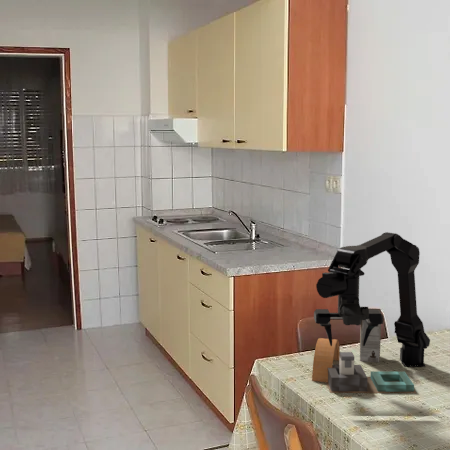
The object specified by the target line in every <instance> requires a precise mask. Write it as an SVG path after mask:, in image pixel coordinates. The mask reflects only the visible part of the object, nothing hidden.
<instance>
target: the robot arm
mask: <svg viewBox="0 0 450 450" xmlns="http://www.w3.org/2000/svg"><path fill="white" fill-rule="evenodd" d="M384 252H387V254H388V255H389V256H390V260H391V265H392V266H393V267H394V269H395V270H396V273H397V283H398V296H399V312H400V314H399V317H398V319H397V320H395V321H394V334H395V336H396V340H397V343H398V344H401V347H400V350H399V352H400V353H399V360H400V361H401V363H402V364H403V366H404V367H426V364H425V349H427V348H429V347H430V344H431V339H430V338H429V336H428V335H427V333H426V332H425V328H424V323H423V321H422V320H421V318H420V316H419V315H418V311H417V310H418V309H417V306H418V305H417V292H416V280H415V279H416V277H415V271H416V268H417V267H418V265H419V264H420V255H421V252H420V248H419V246H417V245H416V244H414V243H412V242H410V241H408V240H407V239H404V238H403V237H402V236H401V235H400V234H398V233H396V232H395V233H394V232H388V231H387V232H386V231H385V232H383V233H382V234H381V235H379V236H376V237H374V238H371V239H369V240H367V241H365V242H364V243H361V244H357V245H347V246H341V247H340V248H338V249H337V250H336V253H335V255H334V256H333V259H332V261H331V263H330V265H329V267H328V269H327V272H322V277H319V279H318V280H317V283H316V292H317V294H318V295H319V296H320V297H321V298H322V299H328V298H332V297H337V296H338V297H337V298H338V300H337V312H330V311H329V309H328V308H326V309H325V308H316V309H315V310H314V312H313V320H314V322H315V324H318V325H320V327H324V329H325V333H326V336H327V339H329V343H330V346H332V339H333V336H332V335H333V334H332V323H331V320H333V321H334V320H335V321H336V320H342V323H343V325H345V326H355V325H356V326H360V325H361V320H364V326H363V337H362V345H363V346H365V344H366V341H367V339H368V336H369V334H370V332H371V330H372V329H373V328H374V327H377V326H378V324H381V325H383V324H384V315H383V313H382V311H381V312H380V311H379V310H378V309H379V308H371V309H368V308H369V306H361V305H360V277H363V276H364V275H365V274H366V273H365V272H364V271H363V270H362V268H364V267H365V266H366V265H367V263H368V261H369V260H370V259H371V258H374V257H376V256H378V255H380V254H382V253H384Z"/></svg>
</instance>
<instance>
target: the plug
mask: <svg viewBox="0 0 450 450" xmlns="http://www.w3.org/2000/svg"><path fill="white" fill-rule="evenodd" d="M338 362H339V364H338V365H339V375H354V365H355V355H354V353H353V352H351V351H340V356H339V361H338Z"/></svg>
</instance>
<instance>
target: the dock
mask: <svg viewBox="0 0 450 450" xmlns="http://www.w3.org/2000/svg"><path fill="white" fill-rule="evenodd" d="M325 383H326V386H327V389H328V391H329V393H330V394H417V392H416V390H415V384H414V383H413V381H412V379H411V378H410V377H409V376H408V374H407V373H406V371H386V370H384V371H381V370H380V371H374V370H373V371H372V370H371V371H370V376H367V375H366V372H365V371H364V369H363V367H362V365H361V364H354V375H339V364H333V365H332V368H328V382H325Z"/></svg>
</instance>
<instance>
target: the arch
mask: <svg viewBox="0 0 450 450" xmlns="http://www.w3.org/2000/svg"><path fill="white" fill-rule="evenodd" d="M340 349H341V347H340V342H339V340H338V339H335V338H334V339H333V338H332V346H330V343H329V339H328V338H322V337H319V338H318V339H317V341H316V344H315V349H314V353H313V355H314V356H313V361H312V362H313V363H312V371H311V372H312V373H311V374H312V376H311V381H313V382H322V383H326V382H328V368H332V365H334V364H333V363H334V361H338V362H339V356H340V352H341V351H340Z"/></svg>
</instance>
